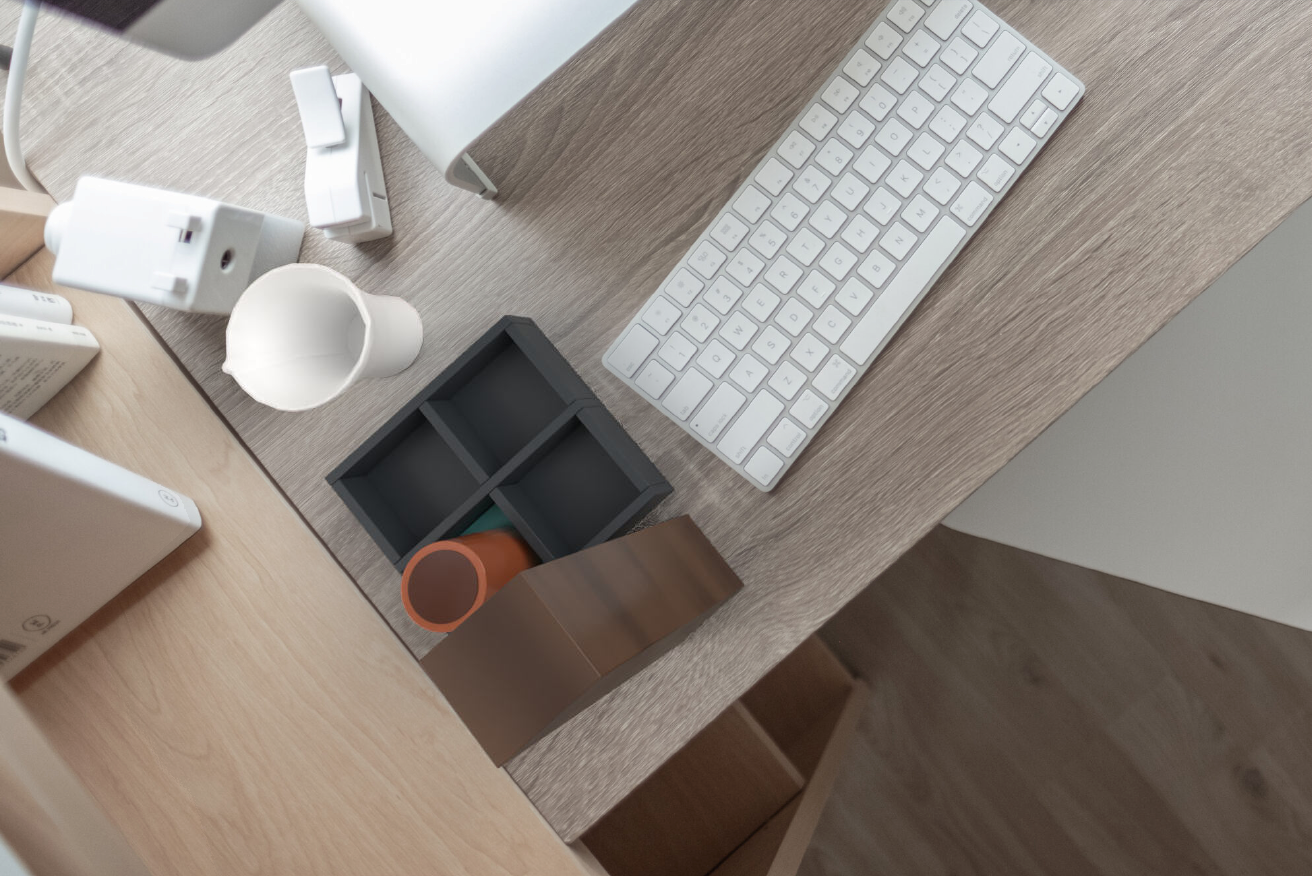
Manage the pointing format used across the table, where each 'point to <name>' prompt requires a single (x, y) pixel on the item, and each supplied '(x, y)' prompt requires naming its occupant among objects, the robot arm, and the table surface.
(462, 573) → the tumbler
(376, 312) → the cup
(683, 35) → the table surface
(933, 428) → the table surface
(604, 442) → the divided tray
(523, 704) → the brown wooden block
